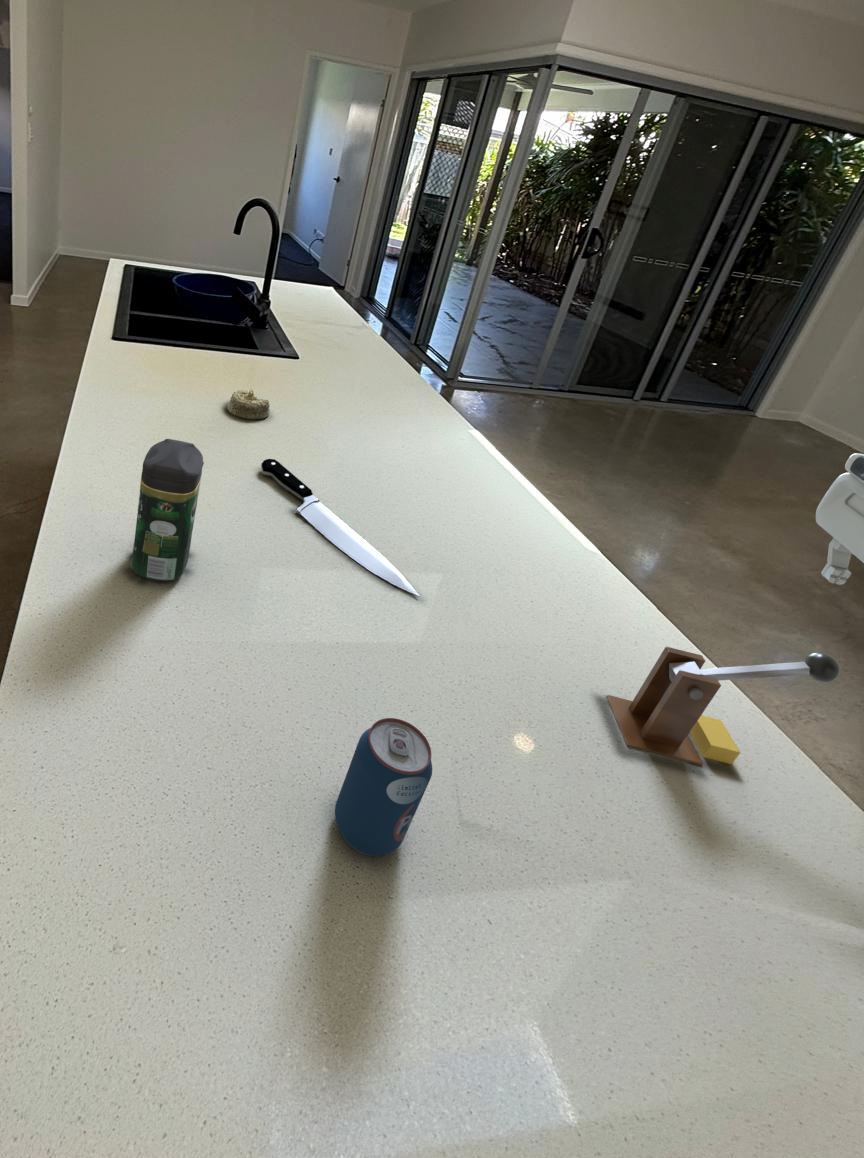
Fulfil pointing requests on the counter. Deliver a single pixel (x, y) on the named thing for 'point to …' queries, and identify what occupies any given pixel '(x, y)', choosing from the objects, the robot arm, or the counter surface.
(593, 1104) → the counter surface
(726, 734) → the butter
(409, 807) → the soda can
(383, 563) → the chef knife
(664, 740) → the stand
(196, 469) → the coffee jar
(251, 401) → the cake
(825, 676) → the grey metal rod
